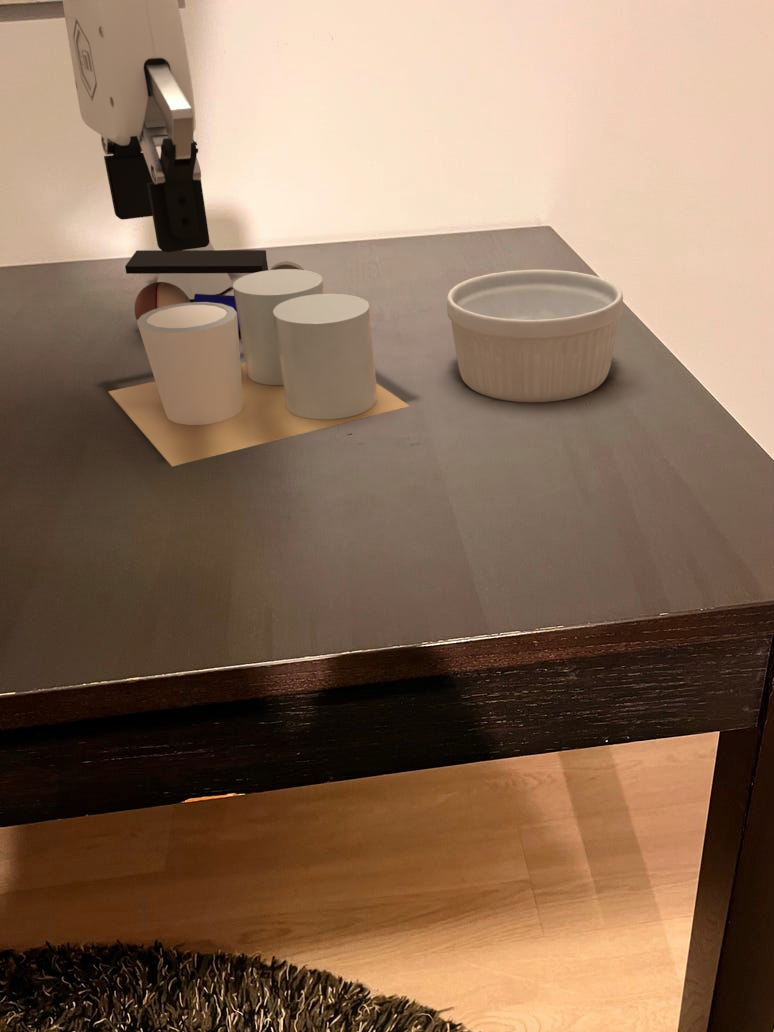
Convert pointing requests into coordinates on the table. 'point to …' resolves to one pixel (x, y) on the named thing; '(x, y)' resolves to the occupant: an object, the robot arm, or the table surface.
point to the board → (229, 420)
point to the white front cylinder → (326, 355)
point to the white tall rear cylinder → (267, 316)
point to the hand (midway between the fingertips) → (161, 231)
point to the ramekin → (534, 333)
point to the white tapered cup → (195, 360)
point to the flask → (198, 280)
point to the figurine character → (193, 263)
